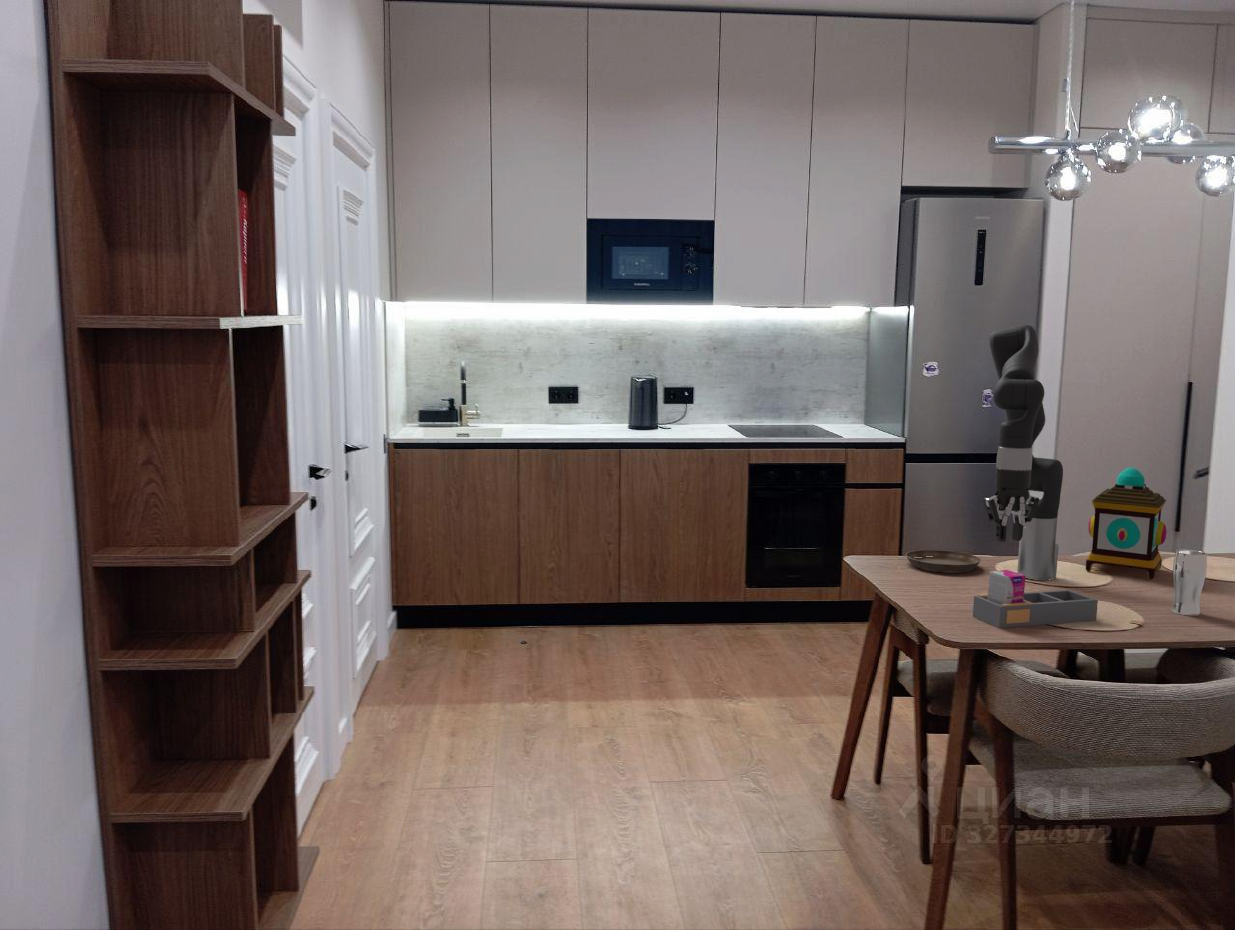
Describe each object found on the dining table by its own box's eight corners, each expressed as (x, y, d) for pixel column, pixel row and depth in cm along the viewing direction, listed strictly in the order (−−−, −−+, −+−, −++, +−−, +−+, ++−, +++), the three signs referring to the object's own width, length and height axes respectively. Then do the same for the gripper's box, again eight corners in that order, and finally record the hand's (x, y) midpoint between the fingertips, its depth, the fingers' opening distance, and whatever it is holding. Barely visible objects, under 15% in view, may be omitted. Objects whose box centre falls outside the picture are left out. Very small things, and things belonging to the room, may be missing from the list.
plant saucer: (895, 559, 293) (895, 548, 293) (962, 559, 294) (963, 548, 294) (920, 575, 273) (921, 564, 272) (992, 576, 274) (993, 564, 273)
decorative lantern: (1079, 572, 279) (1087, 467, 275) (1091, 560, 295) (1099, 461, 292) (1158, 583, 268) (1168, 474, 264) (1166, 569, 284) (1175, 467, 280)
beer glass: (1201, 618, 234) (1207, 556, 232) (1168, 613, 237) (1174, 552, 235) (1202, 611, 239) (1208, 551, 238) (1170, 607, 243) (1175, 547, 241)
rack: (1067, 609, 239) (1068, 588, 239) (1097, 620, 230) (1098, 598, 229) (972, 616, 232) (974, 594, 231) (999, 628, 222) (1001, 605, 222)
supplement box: (1004, 625, 225) (1007, 576, 223) (984, 618, 230) (988, 571, 229) (1022, 622, 227) (1026, 574, 226) (1003, 616, 233) (1006, 568, 231)
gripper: (1028, 464, 229) (1023, 536, 232) (976, 465, 226) (972, 538, 228) (1051, 468, 222) (1045, 542, 225) (998, 469, 218) (992, 545, 221)
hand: (1008, 540), depth 226 cm, fingers open, 3 cm apart
